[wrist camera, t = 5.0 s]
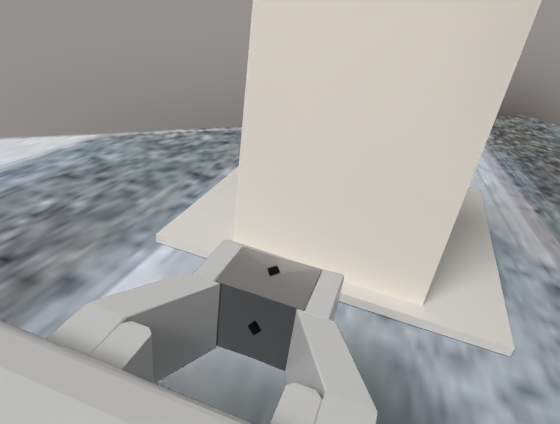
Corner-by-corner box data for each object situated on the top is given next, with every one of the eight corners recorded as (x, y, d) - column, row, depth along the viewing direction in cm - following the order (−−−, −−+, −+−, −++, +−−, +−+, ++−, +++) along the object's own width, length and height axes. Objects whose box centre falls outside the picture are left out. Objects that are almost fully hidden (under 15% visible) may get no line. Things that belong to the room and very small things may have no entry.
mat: (478, 195, 34) (480, 190, 33) (510, 356, 18) (514, 348, 18) (270, 144, 38) (271, 139, 37) (156, 242, 22) (156, 234, 22)
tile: (423, 278, 22) (538, -27, 15) (422, 305, 20) (553, -31, 13) (248, 226, 24) (279, -59, 17) (232, 246, 22) (258, -67, 15)
